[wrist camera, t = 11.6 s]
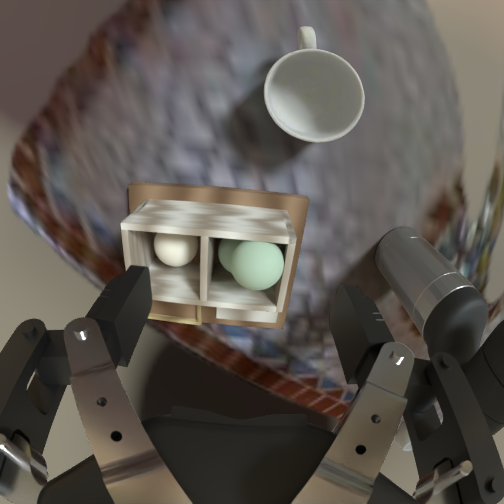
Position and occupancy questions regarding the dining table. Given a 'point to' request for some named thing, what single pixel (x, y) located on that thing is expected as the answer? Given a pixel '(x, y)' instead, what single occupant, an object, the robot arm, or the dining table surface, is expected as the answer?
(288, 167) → the dining table surface
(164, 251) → the cream ball
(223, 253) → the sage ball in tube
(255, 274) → the sage ball
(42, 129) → the dining table surface
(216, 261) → the sorting board
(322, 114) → the teacup
